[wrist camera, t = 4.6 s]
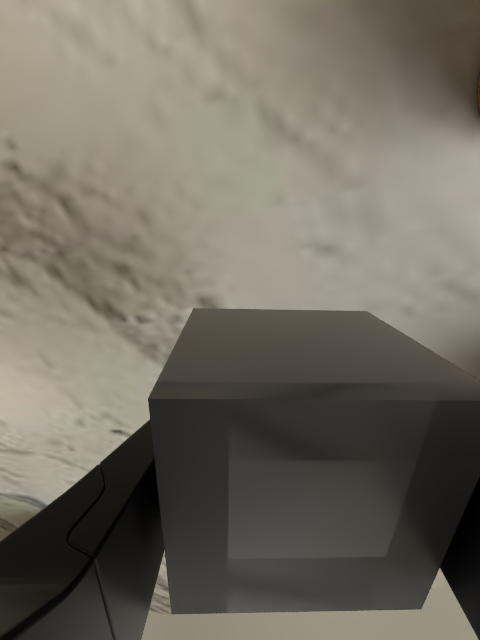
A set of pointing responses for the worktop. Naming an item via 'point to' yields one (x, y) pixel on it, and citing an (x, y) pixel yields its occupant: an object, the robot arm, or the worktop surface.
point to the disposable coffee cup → (479, 92)
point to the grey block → (308, 462)
